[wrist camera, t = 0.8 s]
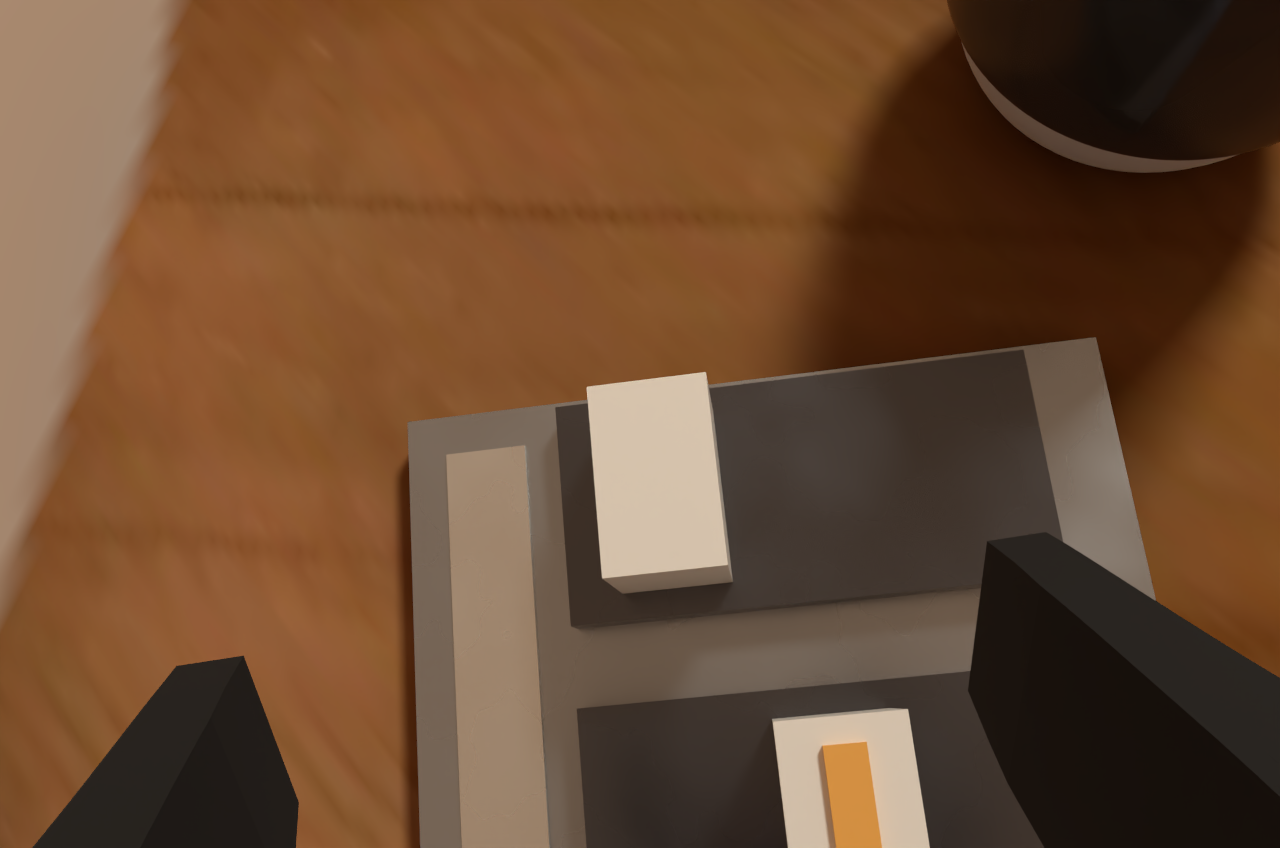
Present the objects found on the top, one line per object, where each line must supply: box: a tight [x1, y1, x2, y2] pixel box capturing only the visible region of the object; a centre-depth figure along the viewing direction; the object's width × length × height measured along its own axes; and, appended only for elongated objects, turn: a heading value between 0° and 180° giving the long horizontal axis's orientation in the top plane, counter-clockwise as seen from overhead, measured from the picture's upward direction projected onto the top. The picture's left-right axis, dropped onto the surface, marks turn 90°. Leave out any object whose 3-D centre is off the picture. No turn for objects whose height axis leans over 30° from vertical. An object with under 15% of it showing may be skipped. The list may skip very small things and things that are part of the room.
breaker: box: [587, 372, 733, 594], centre depth 22 cm, size 4×2×3 cm, turn 5°
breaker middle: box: [772, 708, 930, 848], centre depth 20 cm, size 4×2×3 cm, turn 5°
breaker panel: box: [408, 337, 1156, 848], centre depth 22 cm, size 20×17×2 cm
